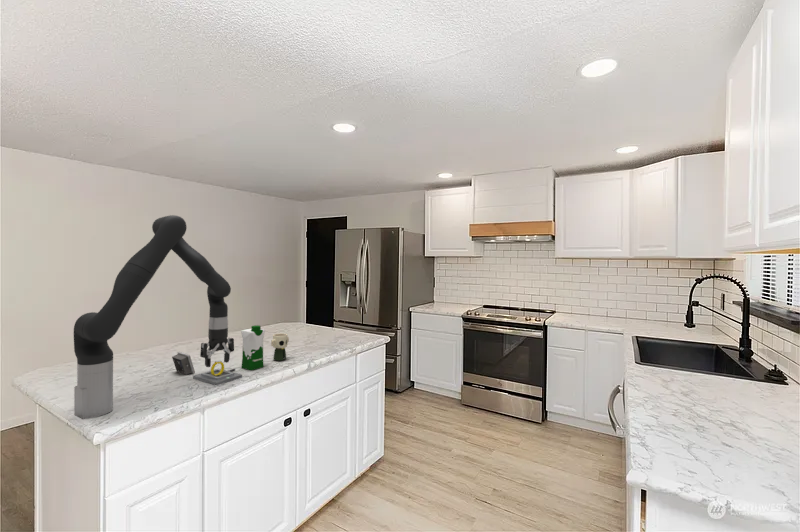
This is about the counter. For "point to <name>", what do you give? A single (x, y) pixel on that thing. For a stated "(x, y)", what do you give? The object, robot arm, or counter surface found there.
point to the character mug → (280, 345)
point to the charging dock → (217, 377)
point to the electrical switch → (183, 363)
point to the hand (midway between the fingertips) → (217, 364)
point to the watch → (214, 366)
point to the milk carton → (252, 348)
